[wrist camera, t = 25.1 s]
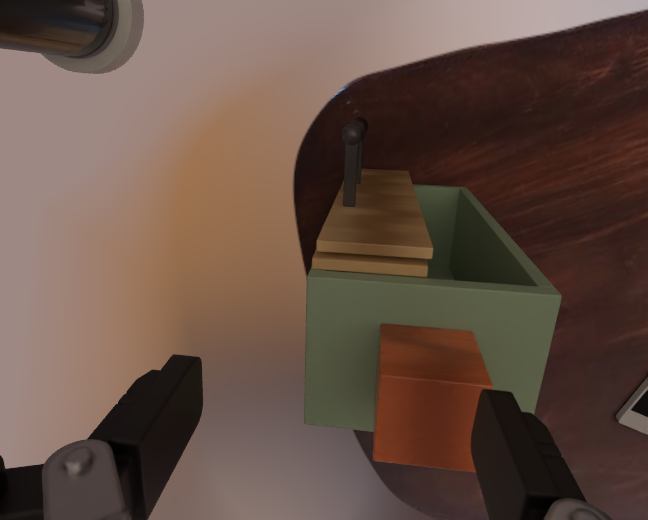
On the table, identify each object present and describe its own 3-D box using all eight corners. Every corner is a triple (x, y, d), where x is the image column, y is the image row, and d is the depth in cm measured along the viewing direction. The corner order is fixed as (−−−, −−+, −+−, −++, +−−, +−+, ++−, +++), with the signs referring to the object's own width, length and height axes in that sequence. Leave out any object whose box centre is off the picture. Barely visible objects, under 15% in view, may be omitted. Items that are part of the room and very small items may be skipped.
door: (348, 173, 45) (316, 251, 23) (352, 112, 43) (319, 133, 21) (407, 176, 44) (432, 259, 22) (413, 115, 42) (447, 138, 20)
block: (374, 397, 24) (372, 461, 20) (380, 322, 22) (380, 375, 18) (460, 406, 24) (477, 473, 19) (473, 330, 22) (494, 386, 18)
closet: (342, 262, 49) (304, 424, 25) (346, 174, 46) (307, 264, 22) (454, 270, 48) (526, 449, 24) (467, 181, 45) (565, 283, 21)
